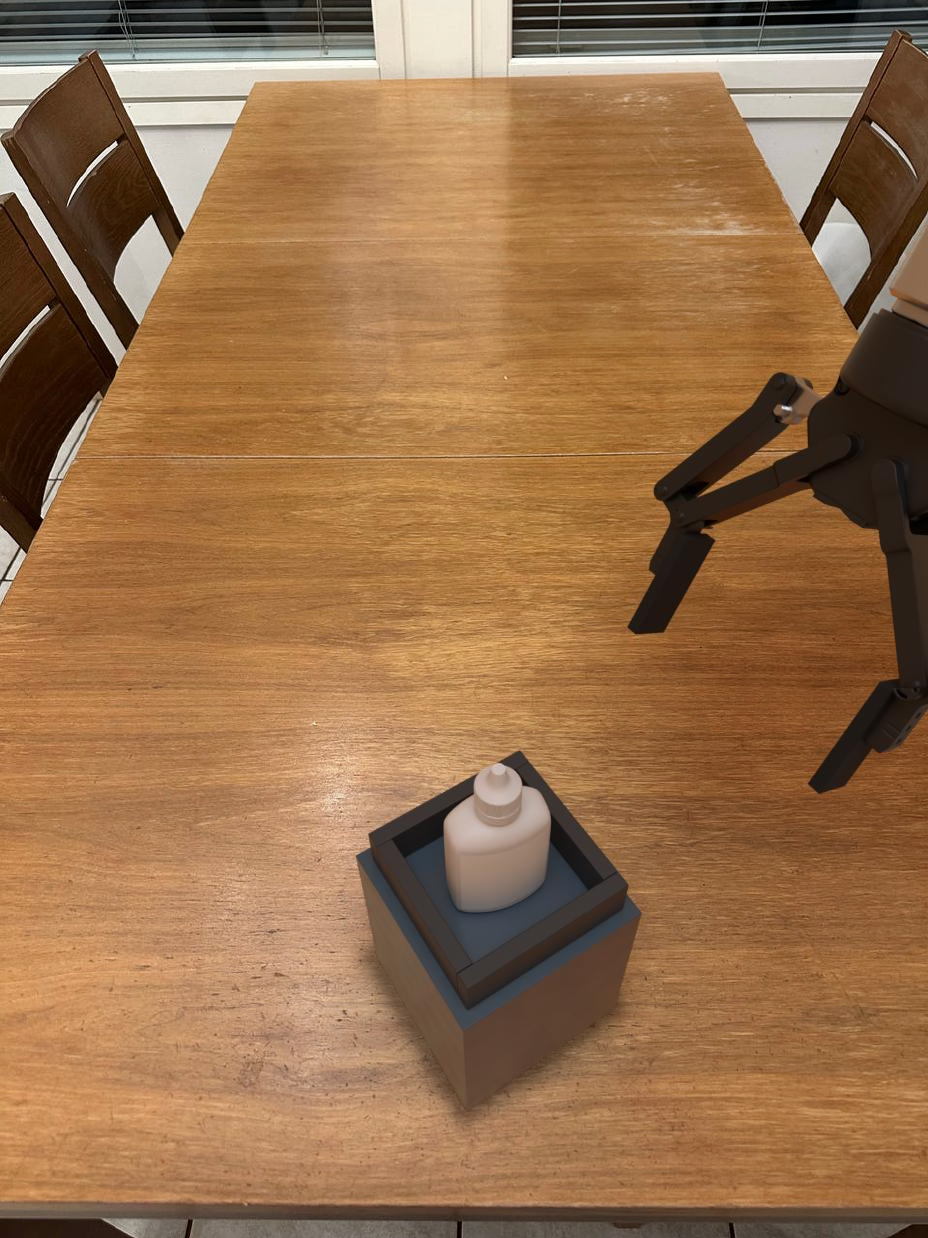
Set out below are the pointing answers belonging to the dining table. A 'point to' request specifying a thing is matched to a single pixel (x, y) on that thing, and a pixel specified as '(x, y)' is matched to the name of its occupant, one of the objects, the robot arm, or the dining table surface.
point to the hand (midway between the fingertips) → (728, 702)
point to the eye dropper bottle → (496, 842)
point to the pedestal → (497, 943)
